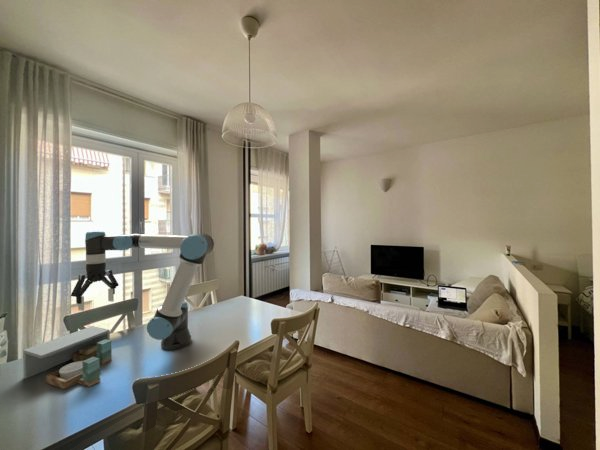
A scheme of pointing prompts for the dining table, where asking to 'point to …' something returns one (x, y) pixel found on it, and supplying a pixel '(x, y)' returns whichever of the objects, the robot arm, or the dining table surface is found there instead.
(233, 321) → the dining table surface
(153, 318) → the robot arm
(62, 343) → the shelf
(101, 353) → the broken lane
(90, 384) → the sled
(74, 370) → the ramekin
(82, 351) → the oak cube
